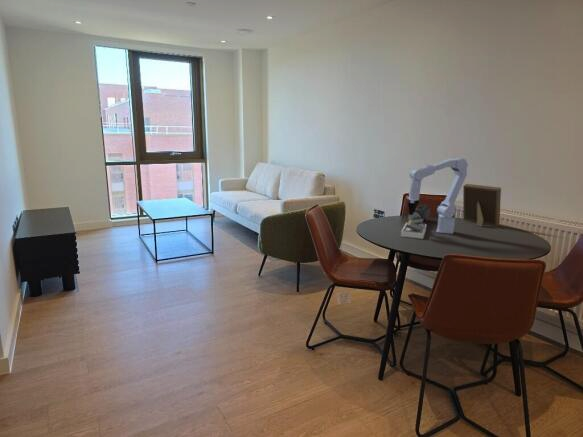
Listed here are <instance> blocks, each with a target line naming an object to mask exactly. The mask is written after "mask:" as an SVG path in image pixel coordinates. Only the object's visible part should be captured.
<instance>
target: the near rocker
mask: <svg viewBox="0 0 583 437" xmlns="http://www.w3.org/2000/svg"><path fill="white" fill-rule="evenodd" d="M407 222H408V223H407V225H406V227H407V228H410V229H413V230H416V231H418V232H420V230H421V227H422V226H420V225H417V224H414V223H412V222H409V221H408V220H407Z"/></svg>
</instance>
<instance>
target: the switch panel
mask: <svg viewBox="0 0 583 437" xmlns="http://www.w3.org/2000/svg"><path fill="white" fill-rule="evenodd" d="M407 223H408V221H407V222H405V224H404V226H403V228H402V229H401V231H400V237H402V238H403V237H404V238H410V239H411V238H412V239H422V240H423V239H424V238H425V234H426V232H427V231H426V230H427V224H426V223H423V222H422V224H419V225H420V226H422V227H421V230H420V232H418V231H416V230H413V229H410V228H407V227H406V225H407Z"/></svg>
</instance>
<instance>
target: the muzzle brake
mask: <svg viewBox="0 0 583 437" xmlns="http://www.w3.org/2000/svg"><path fill="white" fill-rule="evenodd" d="M430 214H431V207H429V206H428V205H427V204H420V205H417V206H416V209H415V212H414V213H413V215H410V214H409V213H408V214H407V222H408V221H411V220H417V219H423V221H424V220H425V219H426V218H428V217H429V215H430Z"/></svg>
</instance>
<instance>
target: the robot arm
mask: <svg viewBox="0 0 583 437" xmlns="http://www.w3.org/2000/svg"><path fill="white" fill-rule="evenodd" d="M468 166H469V163H468V161H467V160H466V159H465V158H464V157H463V158H459V157H451V158H448V159H445V160H443V161H441V162H439V163H436V164H434V165H432V164H429V163H428V164H425V166H423V167H419V168H418V169H413V170H412V171H411V172H410V173H409V177H410V184H409V185H410V186H409V194H408V196H406V199H407V200H408V201H407V202H406V203H407V205H408V206H407V207H408V214H410V215H413V213H414V212H415V209H416V208H417V207H418V204H419V203H420V194H421V186H422V181H423V179H424V178H426V177H429V176H432V175H434V174H435V173H436V171H439V170H442V169H445V168H450V169H451V170H453V172H454V174H455V177H454V179H453V181H452V183H451V186H450V187H449V190H448V192H447V195H446V197H445V199H444V200H443V201H441V202H440V205H438V206H437V208H436V213H437V214H438V218H437V228H436V231H435V232H436V233H442V234H451V235H453V234H454V232H455V227H456V226H455V222H456V217H453V216H454V215H455V209H456V205H455V202H456V200H457V199H458V195H459V193H460V191H461V189H462V188H463V186H464V185H463V184H464V182H465V179H466V178H467V175H468Z"/></svg>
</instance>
